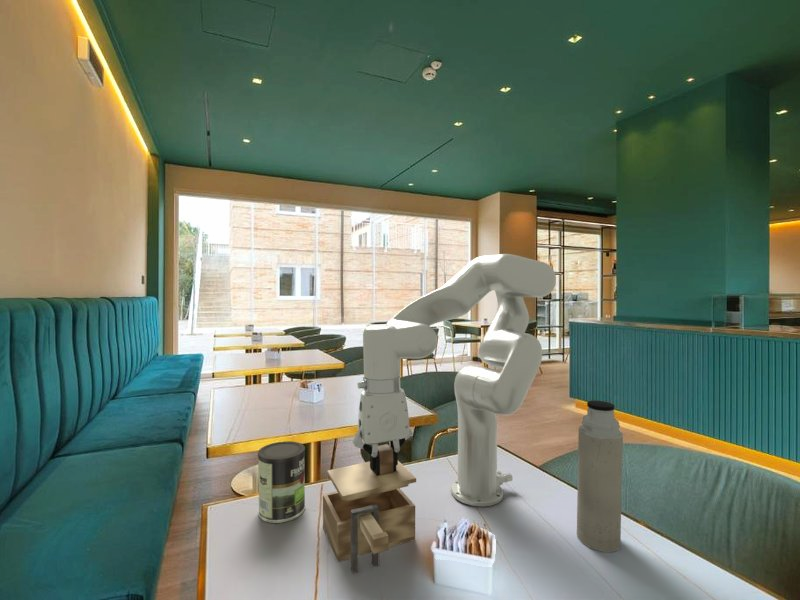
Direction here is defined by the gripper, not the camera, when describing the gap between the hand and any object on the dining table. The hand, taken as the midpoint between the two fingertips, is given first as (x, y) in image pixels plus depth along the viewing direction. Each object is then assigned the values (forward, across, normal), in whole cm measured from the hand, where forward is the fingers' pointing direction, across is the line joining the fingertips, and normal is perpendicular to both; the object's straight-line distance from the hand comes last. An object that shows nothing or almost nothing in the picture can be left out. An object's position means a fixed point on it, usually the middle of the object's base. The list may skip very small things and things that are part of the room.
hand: (384, 470), depth 85 cm
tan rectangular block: (+4, -8, -13) cm, 16 cm away
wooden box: (+12, -4, -2) cm, 13 cm away
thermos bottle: (+14, +38, -21) cm, 46 cm away
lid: (+2, -3, 0) cm, 4 cm away
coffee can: (+12, -19, +16) cm, 28 cm away
